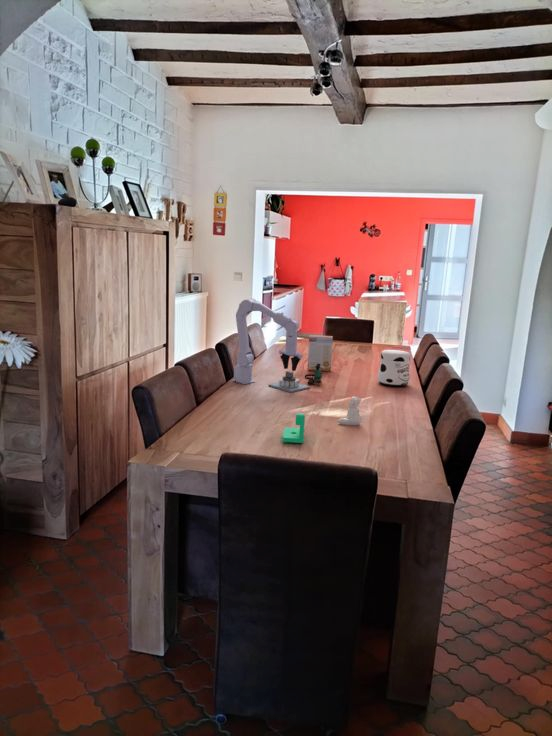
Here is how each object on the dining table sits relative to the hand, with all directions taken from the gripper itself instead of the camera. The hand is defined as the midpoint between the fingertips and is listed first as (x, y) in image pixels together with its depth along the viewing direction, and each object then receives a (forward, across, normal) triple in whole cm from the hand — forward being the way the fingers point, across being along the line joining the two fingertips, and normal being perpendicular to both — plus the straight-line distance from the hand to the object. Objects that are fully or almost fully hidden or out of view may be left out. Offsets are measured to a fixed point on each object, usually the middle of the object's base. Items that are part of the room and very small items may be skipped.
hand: (289, 369), depth 278 cm
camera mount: (+10, +54, -56) cm, 79 cm away
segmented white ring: (+9, 0, 0) cm, 9 cm away
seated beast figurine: (+10, +57, -23) cm, 62 cm away
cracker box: (+10, -17, +45) cm, 49 cm away
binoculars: (+10, +2, +17) cm, 20 cm away
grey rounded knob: (+8, 0, 0) cm, 8 cm away
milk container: (+10, +30, +52) cm, 61 cm away
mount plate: (+9, 0, 0) cm, 9 cm away
